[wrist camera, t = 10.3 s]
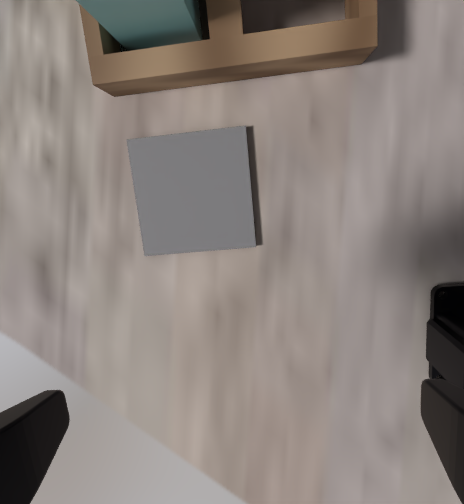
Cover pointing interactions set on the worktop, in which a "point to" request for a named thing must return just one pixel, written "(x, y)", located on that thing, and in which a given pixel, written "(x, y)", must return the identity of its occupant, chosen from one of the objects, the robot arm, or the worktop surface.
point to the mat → (193, 191)
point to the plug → (147, 21)
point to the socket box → (230, 51)
